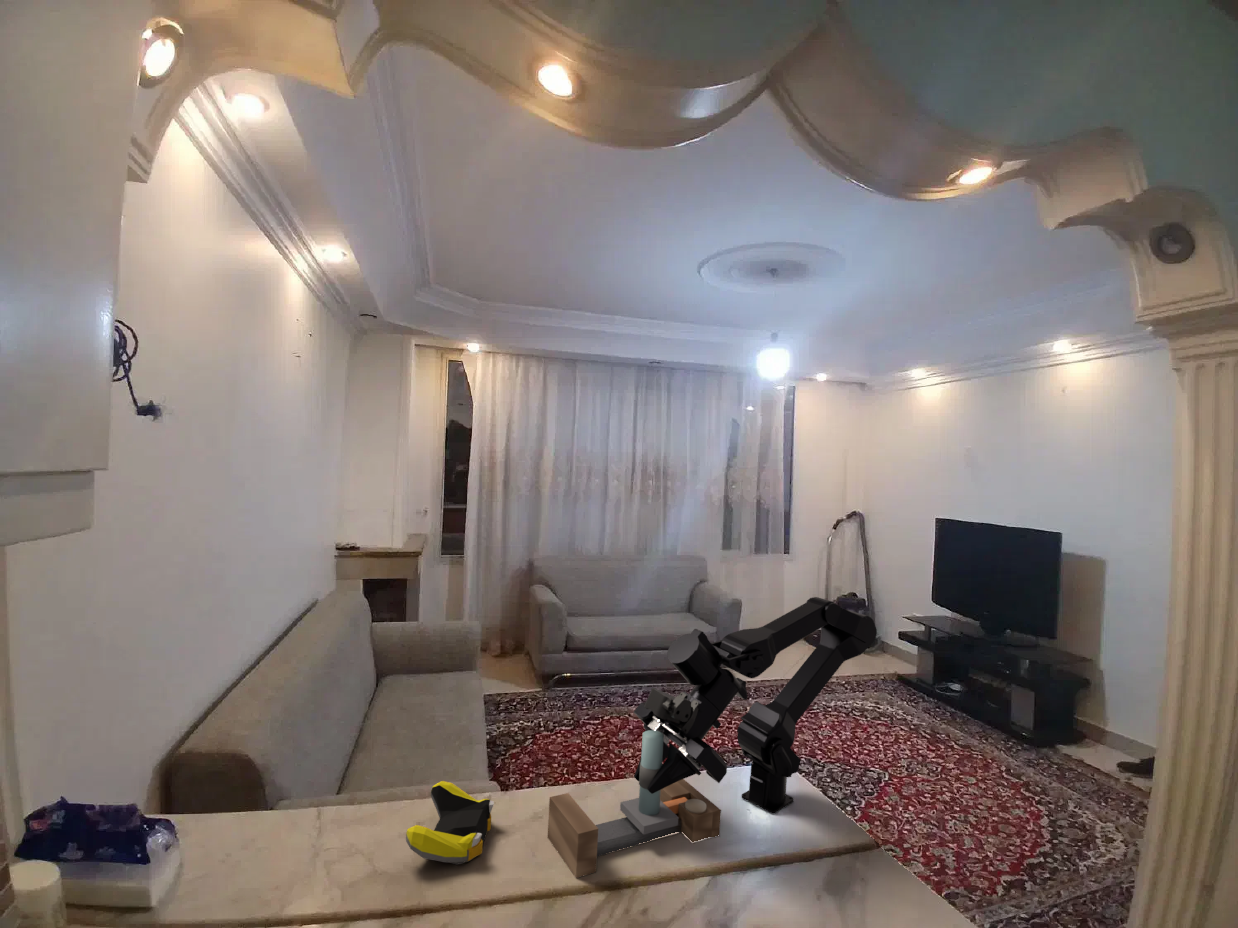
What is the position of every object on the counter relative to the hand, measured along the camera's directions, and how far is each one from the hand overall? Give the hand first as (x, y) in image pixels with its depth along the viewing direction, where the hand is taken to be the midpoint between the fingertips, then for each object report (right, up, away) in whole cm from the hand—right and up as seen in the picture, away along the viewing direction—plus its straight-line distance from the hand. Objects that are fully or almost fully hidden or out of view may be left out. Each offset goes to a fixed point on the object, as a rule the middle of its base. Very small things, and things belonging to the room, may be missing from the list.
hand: (642, 785), depth 97 cm
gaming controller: (-28, -6, -4) cm, 29 cm away
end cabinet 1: (-10, -7, -5) cm, 14 cm away
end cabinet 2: (+7, -8, +4) cm, 11 cm away
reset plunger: (+5, -6, +3) cm, 8 cm away
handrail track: (-1, -8, 0) cm, 8 cm away
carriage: (+1, -5, +1) cm, 5 cm away
